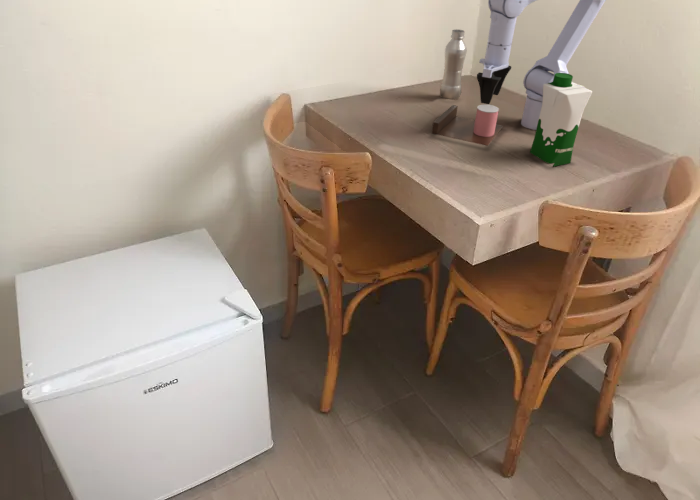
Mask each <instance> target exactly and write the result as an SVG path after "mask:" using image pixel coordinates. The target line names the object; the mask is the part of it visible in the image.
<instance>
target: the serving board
mask: <svg viewBox="0 0 700 500" xmlns="http://www.w3.org/2000/svg"><path fill="white" fill-rule="evenodd" d="M458 107H459V106H458V105H455V104H452V105H451V106H450V107H449V108H447V109H446V110H445V111H444V112H443V113H442V114H441V115H440V116H438V117H437V118H436V119H434V121H433V122H432V129H431V134H433V135H438V136H442V137H446V138H451V139H455V140H459V141H465V142H469V143H473V144H478V145H482V146H486V147H488V146H489V145H490V144H491V142H492V141H493V140H494V139H495V138H496V136H497V135H498V134H499V133H500V132H501V130H502V129H503V128H504V125H500V124H496V127H495V132H494V135H493V136H490V137H483V136H478V135H476V134H474V132H473V131H474V125H475V119H471V118H467V117H462V116H458V115H457V114H458Z"/></svg>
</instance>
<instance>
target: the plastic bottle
mask: <svg viewBox="0 0 700 500" xmlns="http://www.w3.org/2000/svg"><path fill="white" fill-rule="evenodd" d="M465 32H466V31H465V30H463V29H452V30H451V35H450V38H451V39H450V41H448V42H447V44H446V46H445V48H444V69H443V76H442V81H441V84H440V88H439V95H440V98H441V99H447V100H452V101H457V100H459V98H460V97H461V94H462V76H463V75H462V74H463V68H464V63H465V59H466V57H467V52H468V49H467V45H466V43H465V41H464V39H465V34H466V33H465Z"/></svg>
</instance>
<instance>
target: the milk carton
mask: <svg viewBox="0 0 700 500" xmlns="http://www.w3.org/2000/svg"><path fill="white" fill-rule="evenodd" d="M573 78H574V76H573V75H572V74H570V73H569V74H567V73H556V74H555V75H554V79H553V82H551V83H547V84H543V102H542V107H541V112H540V116H539V120H538V124H537V129H536V130H535V133H534V137H533V141H532V144H531V147H530V151H529V153H530V154H531V155H533V156H534V157H536V158H538V159H539V160H541V161H543V162H544V163H546V164H549V165H552V167H559V166H564V165H568V164H571V161H572V157H573V151H574V145H575V142H576V138H577V136H578V135H577V134H578V131H579V127H580V124H581V120H582V116H583V114H584V110H585V108H586V106H587V105H588V102H589V100H590V99H591V96H592V94H593V90H591V89H589V88H586V87H585V86H584V85H580V84H578V83H576V82H574V81H573Z"/></svg>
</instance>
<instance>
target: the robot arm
mask: <svg viewBox="0 0 700 500" xmlns="http://www.w3.org/2000/svg"><path fill="white" fill-rule="evenodd" d="M537 1H538V0H488V2H487V5H488V8H489V10H490V15H489V18H490V24H489V29H488V31H489V32H488V35H487V36H488V37H487V43H486V48H485V53H484V58H483V57H482V58H480V59H479V61H478V62H479V64H482V66H483V70H482V72H478V73H477V74H476V80H477V82H478V86H479V94H480V95H479V96H480V97H479V98H480V103H481V104H488V105H491V102H492V100H493V97H494V96H498V95H500V92H501V89H502V87H503V84H504V82H505V81H506V77H507V76H508V74H509V73H510V71H511V70H512V65H510V56H511V50H512V45H513V40H514V34H515V29H516V25H517V18H518V17H519V16H521V14H522V13H523V12H524V9H526V8H527V7H528V6H530V5H531V4H533V3H535V2H537ZM606 1H607V0H579V1H578V2H577V4H576V6H575V8H574V10H573V11H572V13H571V15H570V17H568V19H567V21H566V23H565V24H564V27H563V28H562V30H561V32H560V34H558V37H557V38H556V40H555V42H554V43H553V45H552V47H551V49H550V50H549V52H548V54H547V55H546V56H544V57H542V58H539V59H538V60H536V61H535V63H534V64H533V66H532V67H531V68H530V69H529V70H527V72H526V73H525V74H524V77H523V83H522V84H523V87H524V89H525V94H526V97H525V103H524V106H523V111H522V116H521V121H520V125H521V126H522V127H524V128H526V129H529V130H534V131H536V129H537V124H538V120H539V116H540V112H541V107H542V102H543V84H547V83H551V82H553V79H554V75H555V74H556V73H567V74H570V72H569V70H568V66H567V65H568V64H569V62H570V60H571V59H572V57H573V55H574V54H575V52H576V50H577V49H578V47H579V45H580V43H582V40H583V39H584V37H585V35H586V34H587V33H588V31H589V29H590V27H591V26H592V24H593V22H594V20H595V19H596V17H598V14H599V13H600V11H601V9H602V7H603V6H604V4H605V3H606Z"/></svg>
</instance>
